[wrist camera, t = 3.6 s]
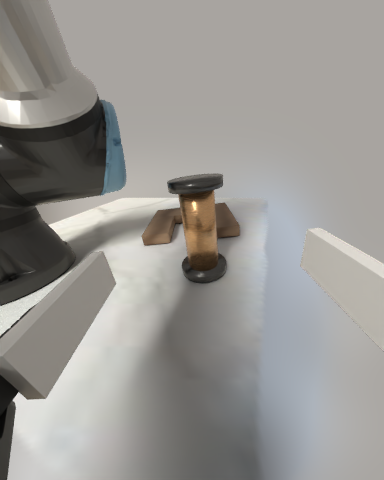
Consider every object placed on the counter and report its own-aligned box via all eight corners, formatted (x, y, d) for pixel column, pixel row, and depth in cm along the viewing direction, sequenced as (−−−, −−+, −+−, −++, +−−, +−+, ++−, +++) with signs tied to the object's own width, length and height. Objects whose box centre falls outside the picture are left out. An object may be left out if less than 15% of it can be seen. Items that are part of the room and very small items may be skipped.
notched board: (144, 245, 32) (141, 235, 32) (159, 217, 47) (157, 210, 46) (239, 235, 31) (239, 225, 30) (225, 210, 46) (224, 202, 45)
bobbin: (181, 284, 21) (162, 186, 16) (184, 258, 27) (170, 178, 21) (230, 280, 21) (227, 178, 16) (222, 254, 26) (218, 172, 21)
